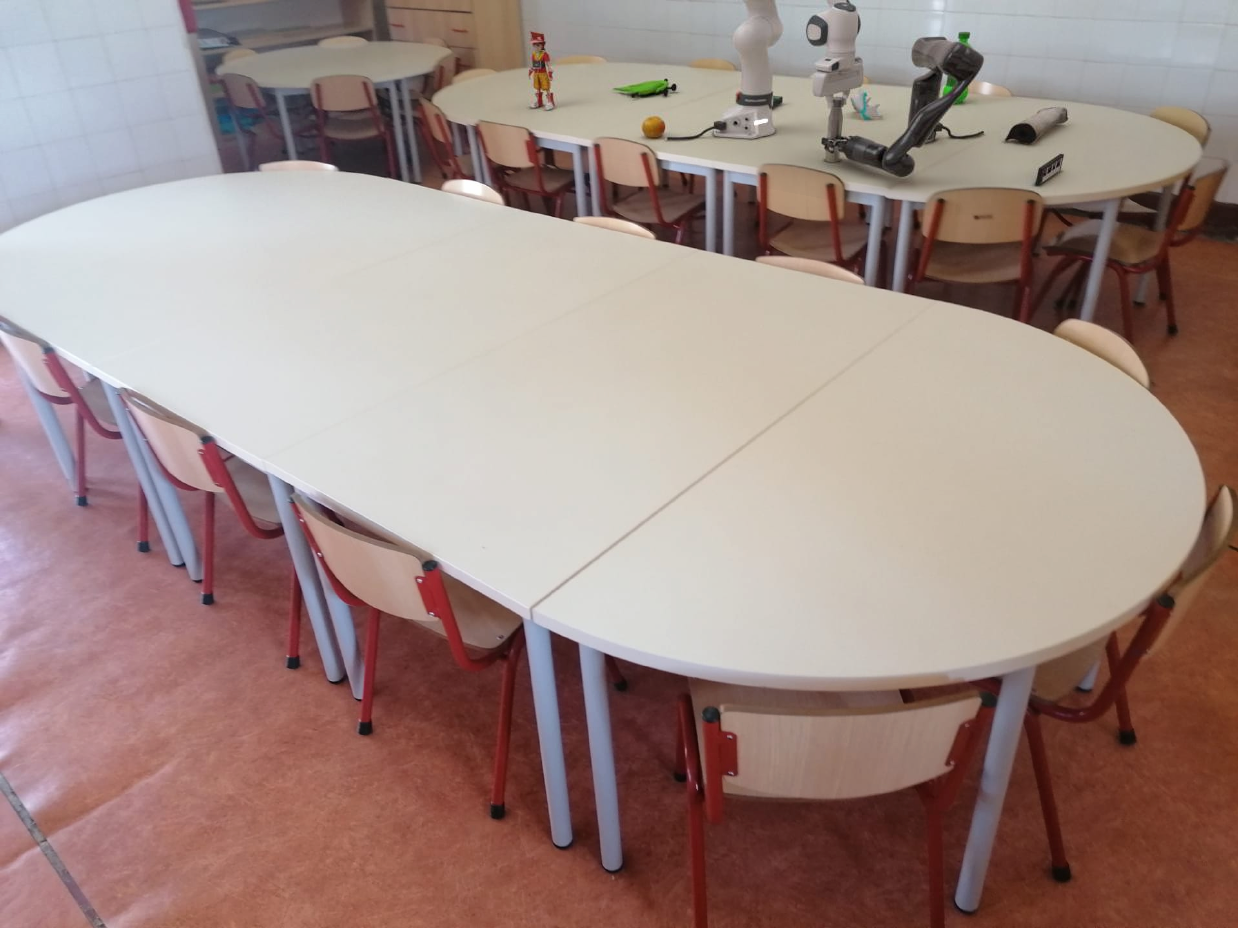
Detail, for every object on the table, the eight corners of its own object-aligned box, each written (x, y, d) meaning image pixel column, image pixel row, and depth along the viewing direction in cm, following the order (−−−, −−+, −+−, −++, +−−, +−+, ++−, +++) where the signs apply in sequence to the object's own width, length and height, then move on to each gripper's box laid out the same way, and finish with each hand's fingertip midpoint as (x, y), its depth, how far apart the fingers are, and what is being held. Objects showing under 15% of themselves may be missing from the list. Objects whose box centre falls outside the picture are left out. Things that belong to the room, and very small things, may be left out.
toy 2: (686, 85, 398) (631, 84, 414) (685, 72, 395) (629, 72, 411) (651, 104, 381) (596, 103, 397) (650, 92, 378) (594, 91, 394)
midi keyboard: (1039, 185, 269) (1043, 168, 266) (1035, 184, 270) (1038, 168, 267) (1060, 170, 279) (1064, 154, 277) (1056, 169, 280) (1060, 153, 277)
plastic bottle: (973, 101, 354) (984, 32, 339) (955, 106, 349) (966, 36, 335) (952, 97, 361) (962, 29, 346) (934, 102, 356) (944, 33, 342)
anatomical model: (845, 88, 346) (871, 81, 345) (848, 116, 352) (873, 109, 351) (857, 98, 334) (883, 90, 333) (859, 126, 340) (885, 119, 339)
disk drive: (768, 112, 357) (782, 103, 367) (768, 105, 355) (783, 96, 365) (744, 110, 362) (759, 101, 372) (744, 103, 360) (759, 94, 370)
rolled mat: (1035, 112, 325) (1059, 94, 316) (1049, 133, 325) (1073, 116, 317) (1000, 135, 307) (1025, 117, 299) (1015, 157, 308) (1040, 140, 300)
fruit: (635, 129, 332) (646, 109, 329) (642, 132, 340) (653, 113, 337) (653, 141, 331) (664, 122, 328) (660, 144, 339) (671, 125, 336)
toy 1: (525, 109, 381) (517, 32, 364) (534, 104, 388) (527, 28, 371) (550, 110, 377) (543, 32, 360) (559, 105, 384) (553, 28, 367)
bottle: (831, 157, 304) (836, 98, 293) (842, 160, 300) (847, 100, 290) (822, 160, 301) (826, 100, 291) (832, 163, 298) (837, 102, 287)
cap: (836, 108, 289) (836, 100, 287) (827, 106, 292) (827, 98, 290) (846, 106, 290) (847, 98, 289) (837, 103, 294) (838, 96, 292)
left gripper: (855, 54, 290) (850, 99, 298) (810, 64, 281) (807, 111, 289) (870, 56, 286) (865, 102, 294) (825, 67, 276) (822, 114, 284)
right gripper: (881, 135, 287) (846, 124, 300) (846, 142, 282) (812, 131, 295) (878, 158, 291) (844, 147, 304) (843, 166, 286) (810, 154, 299)
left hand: (836, 106), depth 291 cm, fingers closed on cap, 4 cm apart
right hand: (828, 139), depth 299 cm, fingers closed on bottle, 4 cm apart
